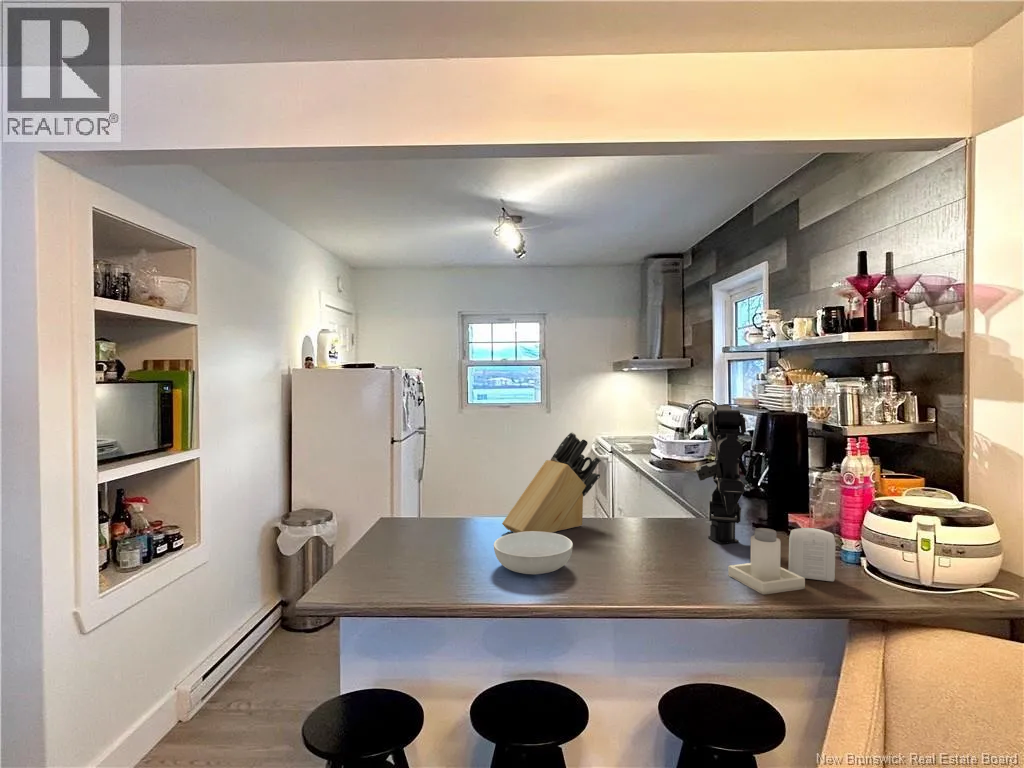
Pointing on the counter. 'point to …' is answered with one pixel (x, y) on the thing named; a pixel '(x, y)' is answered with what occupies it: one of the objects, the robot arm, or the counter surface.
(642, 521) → the counter surface
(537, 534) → the serving bowl
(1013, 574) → the counter surface
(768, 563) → the white bottle
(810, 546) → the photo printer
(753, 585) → the cream tray
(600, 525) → the counter surface
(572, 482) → the knife block
